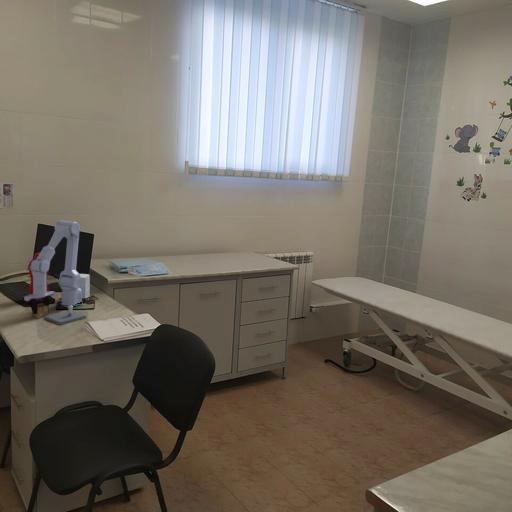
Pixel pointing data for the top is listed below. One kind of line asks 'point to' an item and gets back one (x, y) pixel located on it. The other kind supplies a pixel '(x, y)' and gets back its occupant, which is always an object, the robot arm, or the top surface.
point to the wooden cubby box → (41, 311)
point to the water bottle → (32, 277)
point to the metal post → (70, 310)
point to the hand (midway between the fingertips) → (40, 312)
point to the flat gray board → (64, 317)
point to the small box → (85, 285)
